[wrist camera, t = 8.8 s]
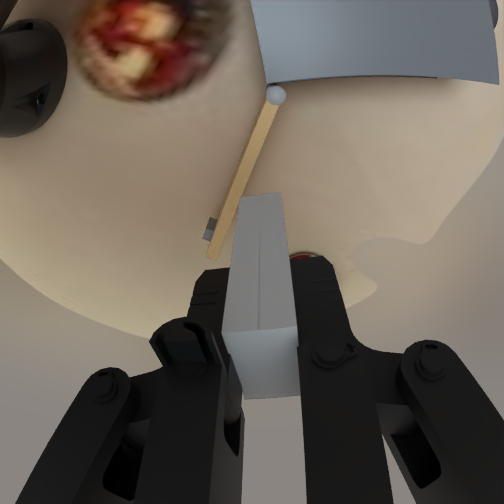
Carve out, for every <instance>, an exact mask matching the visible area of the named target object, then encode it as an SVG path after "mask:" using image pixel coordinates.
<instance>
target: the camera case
mask: <svg viewBox="0 0 504 504" xmlns="http://www.w3.org/2000/svg"><path fill="white" fill-rule="evenodd" d="M250 1H251V5H252V10H253V15H254V20H255V25H256V30H257V35H258V40H259V45H260V50H261V55H262V61H263V66H264V71H265V77H266V82H267V83H274V82H280V83H284V82H293V81H302V80H313V79H325V78H341V77H370V76H396V77H424V78H437V77H441V78H452V79H462V80H470V81H478V82H484V83H491V84H497V85H499V70H498V58H497V49H496V41H495V34H494V28H495V27H496V24H497V21H498V6H497V2H496V0H250Z"/></svg>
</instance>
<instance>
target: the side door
mask: <svg viewBox="0 0 504 504" xmlns="http://www.w3.org/2000/svg"><path fill="white" fill-rule="evenodd" d="M285 99H286V93H285V91H284V89H282V88H281V87H280V86H279V85H278V84H276V83H271V84H269V85H268V86H267V88H266V96H265V98H264V100H263V103H262V105H261V108H260V110H259V112H258V115H257V117H256V120H255V122H254V125H253V127H252V130H251V132H250V134H249V137H248V139H247V142H246V144H245V147H244V150H243V152H242V155H241V157H240V160H239V162H238V165H237V167H236V170H235V173H234V175H233V178H232V180H231V183H230V186H229V188H228V191H227V194H226V196H225V199H224V202H223V204H222V207H221V210H220V212H219V215H218V218H217V219H214V218H211V217H210V218H209V221H208V224H207V227H206V230H205V233H204V235H203V238H202V239H205V240H208V241H210V244H209V247H208V250H207V254H206V258H209V259H212V260H215V261H216V260H217V257H218V255H219V252H220V250H221V247H222V244H223V242H224V239H225V237H226V234H227V232H228V229H229V227H230V224H231V221H232V219H233V216H234V214H235V211H236V209H237V206H238V204H239V201H240V197H241V196H242V194H243V191H244V189H245V187H246V184H247V182H248V179H249V177H250V174H251V172H252V169H253V167H254V165H255V162H256V160H257V157H258V155H259V152H260V150H261V148H262V145H263V143H264V140H265V138H266V136H267V133H268V131H269V129H270V126H271V124H272V122H273V119H274V117H275V114H276V112H277V110H278V108H279V105H280V104H282V103H283V102H284V101H285Z"/></svg>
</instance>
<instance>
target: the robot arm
mask: <svg viewBox="0 0 504 504" xmlns="http://www.w3.org/2000/svg"><path fill="white" fill-rule="evenodd" d="M17 1H18V0H0V137H5V138H12V137H18V136H21V135H24V134H26V133H28V132H31V131H33V130H35V129H37V128H38V127H40V126H41V125H42V124H43V123H44V122H45V121H46V120H47V119H48V118H49V117H50V115H51V114H52V113H53V111H54V109H55V108H56V106H57V104H58V102H59V99H60V97H61V94H62V91H63V88H64V84H65V79H66V70H67V58H66V50H65V46H64V43H63V40H62V38H61V36H60V34H59V32H58V31H57V29H56V28H55V27H54V26H53V25H51V24H50V23H48V22H46V21H44V20H39V19H21V20H17V21H14V22H11V23H9V24H7V25H4V24H5V22H6V20H7V18H8V16H9V15H10V13H11V11H12V10H13V8H14V6H15V5H16V3H17ZM149 342H150V344H151V346H152V348H153V350H154V351H155V353H156V355H157V357H158V358H159V360H160V362H161V363H162V365H163V367H161V368H160V369H157V370H154V371H152V372H148V373H144V374H141V375H137V376H133V377H128V375H127V374H126V372H124V371H123V370H121V369H119V368H112V367H109V368H104V369H100V370H99V371H97V372H95V373H94V374H92V375H91V376H90V378H89V379H88V380H87V381H86V382H85V383H84V385H83V386H82V388H81V390H80V391H79V393H78V394H77V396H76V397H75V399H74V401H73V402H72V404H71V406H70V407H69V409H68V411H67V412H66V414H65V415H64V417H63V419H62V420H61V422H60V424H59V425H58V427H57V429H56V430H55V432H54V434H53V436H52V437H51V439H50V441H49V442H48V444H47V446H46V448H45V449H44V451H43V453H42V455H41V457H40V458H39V460H38V462H37V464H36V465H35V467H34V469H33V471H32V473H31V474H30V476H29V478H28V480H27V482H26V484H25V486H24V488H23V490H22V491H21V493H20V495H19V497H18V500H17V501H16V503H15V504H241V494H242V471H243V447H244V423H245V419H244V413H243V410H242V407H241V401H242V393H243V395H244V398H245V400H246V399H262V398H277V397H288V396H299V395H301V407H302V421H303V436H304V453H305V472H306V493H307V504H394V503H393V496H392V490H391V483H390V477H389V471H388V465H387V459H386V454H385V449H384V443H383V439H382V434H383V436H384V438H385V440H386V442H387V444H388V446H389V448H390V450H391V452H392V454H393V456H394V458H395V460H396V462H397V464H398V466H399V469H400V471H401V473H402V475H403V477H404V479H405V481H406V483H407V485H408V487H409V489H410V491H411V493H412V495H413V497H414V499H415V501H416V504H504V420H503V418H502V417H501V415H500V414H499V412H498V411H497V410H496V408H495V407H494V405H493V404H492V402H491V401H490V399H489V398H488V397H487V395H486V394H485V392H484V391H483V389H482V388H481V387H480V385H479V384H478V383H477V381H476V380H475V378H474V377H473V376H472V374H471V373H470V371H469V370H468V369H467V367H466V366H465V365H464V363H463V362H462V361H461V359H460V358H459V357H458V356H457V354H456V353H455V352H454V351H453V350H452V349H451V348H450V347H449V346H447V345H446V344H444V343H441V342H439V341H434V340H423V341H419V342H415V343H414V344H412V345H411V346H410V347H408V348H407V349H406V350H405V352H404V354H401V353H390V352H382V351H377V350H373V349H371V348H368V347H366V346H364V345H363V344H362V343H360V342H359V341H358V340H357V339H356V338H355V336H354V335H353V333H352V331H351V328H350V324H349V320H348V317H347V313H346V309H345V306H344V302H343V299H342V295H341V292H340V289H339V285H338V281H337V279H336V274H335V271H334V268H333V265H332V264H331V263H330V262H329V261H328V260H327V259H326V258H325V257H324V256H315V257H307V258H298V259H290V260H289V253H288V245H287V237H286V230H285V222H284V215H283V207H282V200H281V193H280V192H276V193H268V194H261V195H253V196H246V197H240V201H239V208H238V215H237V222H236V229H235V236H234V243H233V250H232V257H231V264H230V267H229V268H220V269H211V270H205V271H204V272H203V273H202V275H201V276H200V277H199V278H198V279H197V281H196V283H195V287H194V290H193V296H192V298H191V302H190V307H189V310H188V314H187V317H182V318H177V319H173V320H171V321H169V322H167V323H165V324H163V325H162V326H161V327H159V328H158V329H157V330H156V331H155V332H154V333H153V335H152V337H151V339H150V341H149Z"/></svg>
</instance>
